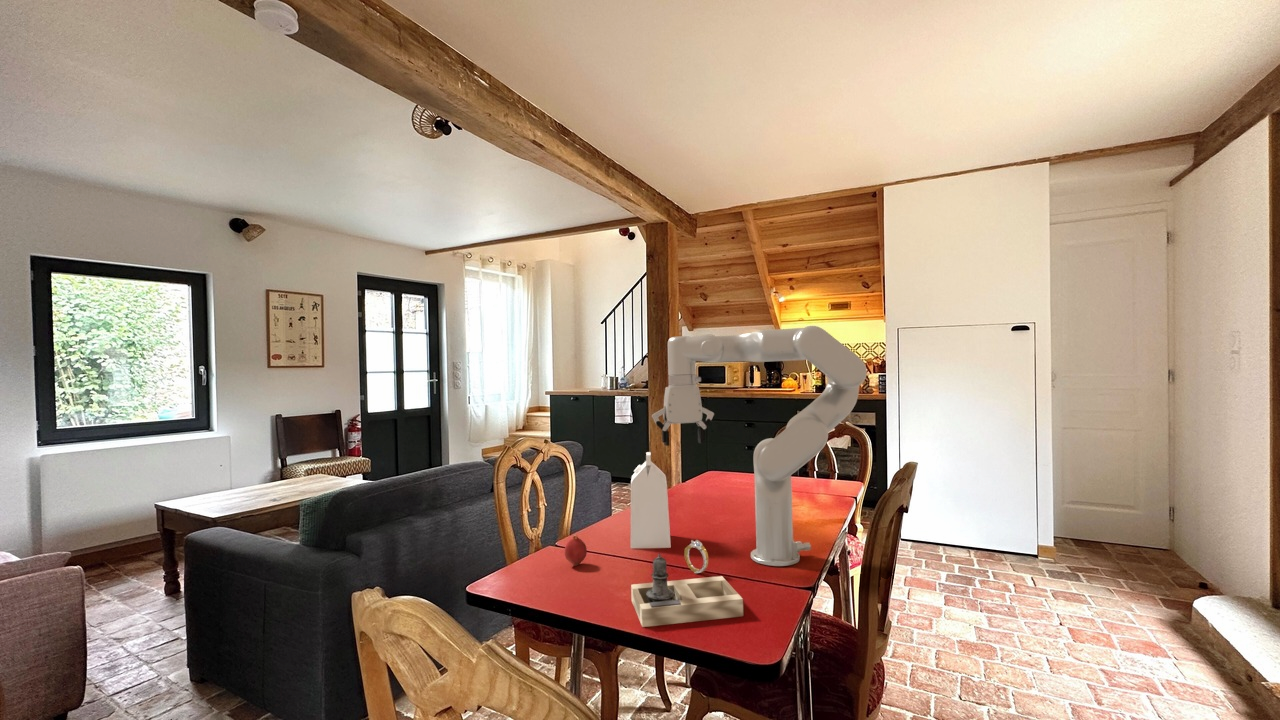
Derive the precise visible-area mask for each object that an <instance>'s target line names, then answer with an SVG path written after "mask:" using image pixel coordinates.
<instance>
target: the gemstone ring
mask: <svg viewBox="0 0 1280 720" xmlns="http://www.w3.org/2000/svg"><path fill="white" fill-rule="evenodd" d="M690 542H691V543H690V544H689V545H687V546H685V548H684V551H683V554H684V559H685V563H686V565H687V566H688V568H689V569H690V570H691V571H692V572H693V573H694V574H700V573H704V572H705V571H706V570H707V568H708V566H709V565H708V564H709V553H708V551H707V549H706V548H705V546H704V545H703V543H702V542H701V541H700V540H698V539H696V540H695V541H694V540H693V539H691V541H690ZM692 548H695V549H697V550H698V551H699V552H700V554H701V555H702V558H703V565H702V568H700V569H699V568H696V567H695V566H694V565H693V564H692V562H691V560H690V550H691V549H692Z"/></svg>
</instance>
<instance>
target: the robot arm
mask: <svg viewBox="0 0 1280 720" xmlns="http://www.w3.org/2000/svg"><path fill="white" fill-rule="evenodd" d="M783 361H784V362H788V361H789V362H790V361H808V362H809V363H810V364H811V365H812V366H814V367H815V368H816V369H818V371H820V372H821V373H823V374H824V375H825V378H826V385H825V389H824V390H823V391H822V393H821V394H820V395H819V396H817V398H815V399H814V400H813V401H812V402H810V404H808V405H807V406H806V407H805V408H803V409H802V410H801V411H800V412H798V413H797V414H795V415H793V417H791V418H790V419H789V421H788V422H787V424H786V426H785V429H784V430H783V431H781V432H780V433H779V434H777V436H775V437H774V438H772V437H770V438H765V439H763V440H761V441H760V442H759V443H757V445H756V446H755V448H754V450H753V459H752V460H753V472H754V473H753V474H754V475H753V476H754V504H755V505H754V509H755V537H756V538H755V541H756V543H755V544H756V548H755V549H753V550H752V551H750V558H751V559H752V561H754V562H755V563H757V564H761V565H765V566H772V567H787V566H788V567H789V566H793V565H796V564H798V563H799V562H800V557H801V556H800V552H801V551H811V550H812V545H811V544H810V542H802V541H800V540H799V541H798V540H797V541H795V540H794V528H793V491H792V490H793V489H792V475H793V474H794V473H795V474H796V472H798V470H800V469H801V468H802V467H803V466H805V465H806V464H807V463H808V462H809V461H811V460H812V459H814V457H815V456H817V455H818V454H819V453H820V452H821V451H822V450H823V449H824V447H825V446H826V444H827V442H828V440H829V439H828V438H829V433H830V432H831V431H832V430H833V429H835V428H836V427H837V426H838V425H839V424H840V423H842V422H843V421H844V420H845V419H846V418H847V417H848V416H849V414H851V413H852V411H853V409H854V407H855V406H856V404H857V402H858V398H859V393H860V386H861V385H862V384H863V383H864V382H865V380H866V378H867V374H868V373H867V372H868V371H867V367H866V363H865V362H864V361H863V360H862V359H861V358H860V357H859V356H858V355H857V354H856V353H854V351H851V350H850V349H849V348H848V347H846V346H845V344H843V343H841V341H839V340H837V339H836V338H835V337H834V336H833V335H831V334H830V333H829V332H828V331H826V330H825V329H824V328H822V327H820V326H817V325H809V326H805V327H797V328H780V329H761V330H755V331H752V332H749V333H748V332H747V333H742V334H733V335H732V334H731V335H714V334H710V333H708V334H702V335H696V336H687V335H685V336H684V335H683V336H681V335H680V336H678V335H677V336H672V337H669V339H668V341H667V368H668V369H667V372H668V379H667V381H668V386H665V388H664V397H663V408H660V410H658V411H656V412H654V413H653V414H651V418H652V419H653V422H654V423H655V425H656V426H657V427H658V428H659V429H660V430H661V436H662V437H661V440H662V444H664V446H665V447H667V446H668V447H669V446H670V430H668V429H669V427H670V426H671V425H674V424H695V423H696V425H697V427H698V428H697V443H698V444H700V445H704V443H705V442H704V441H706V429H707V427H708V426H710V424H711V423H712V420H713V417H714V416H715V413H714V412H713V411H711V410H709V409H708V408H705V407H703V406H702V405H703V404H702V398H701V392H700V387H699V386H697V383H701V382H702V377H701V376H698V375H697V372H696V370H697V369H696V368H697V367H696V366H697V365H696V362H702V363H703V362H704V363H708V364H709V363H710V364H712V363H713V364H714V363H729V362H730V363H731V362H734V363H735V362H754V363H765V362H783ZM703 414H705V415H706V418H705V419H704V420H703ZM661 416H663V421H664V422H661V421H660V419H659V417H661Z"/></svg>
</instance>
